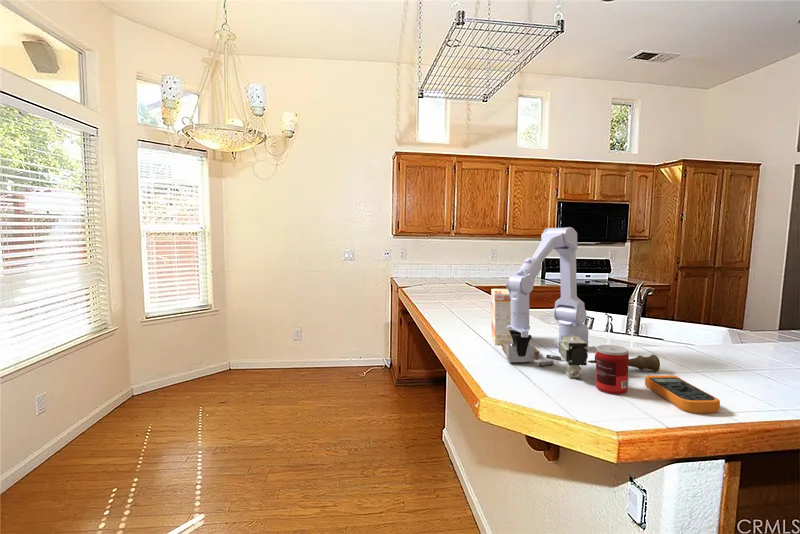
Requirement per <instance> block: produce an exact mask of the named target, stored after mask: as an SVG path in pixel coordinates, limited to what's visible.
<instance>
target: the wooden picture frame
mask: <svg viewBox="0 0 800 534" xmlns="http://www.w3.org/2000/svg"><path fill="white" fill-rule="evenodd" d="M506 343H513V342H502V345H501V348H502V351H503V353H504V354H505V355H506ZM529 343H532V342H531V341H529ZM534 360H540V351H539V350H538V349H537V347H535V346H534Z"/></svg>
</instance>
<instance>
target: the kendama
mask: <svg viewBox="0 0 800 534" xmlns="http://www.w3.org/2000/svg"><path fill="white" fill-rule="evenodd" d="M587 363H589V364H590V363H591V364H596V353H595V354H594V360H591V359H590V360H587ZM628 367H632V368H636V369H638V370H639V371H644V370H650V371H653V372H654V373H657V372H659V370H660V369H661V361H660V359H659V356H657V355H656V354H651V355H649V356H643V355H637V356H636V357H634V358H633V357H632V358H629V365H628Z"/></svg>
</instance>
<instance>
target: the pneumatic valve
mask: <svg viewBox="0 0 800 534" xmlns="http://www.w3.org/2000/svg"><path fill="white" fill-rule="evenodd" d="M558 344H559V348H558V353H559V354H560V357H561V359H563V360H564V361H565V362H566V363H565V368H566V369H565V370H566V371H565V375H566V376H567V377H568V379H572V378H573V379H574V378H575V379H577V378H578V379H582V374H581V373H582V371H581V370H582V366H587V365H588V364H587V363H588V357H589V355H588V351H587V343H585V342H584V341H583V340H582V339H580V338H579V337H578V336H574V335H572V336H561V342H559V341H558Z"/></svg>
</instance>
